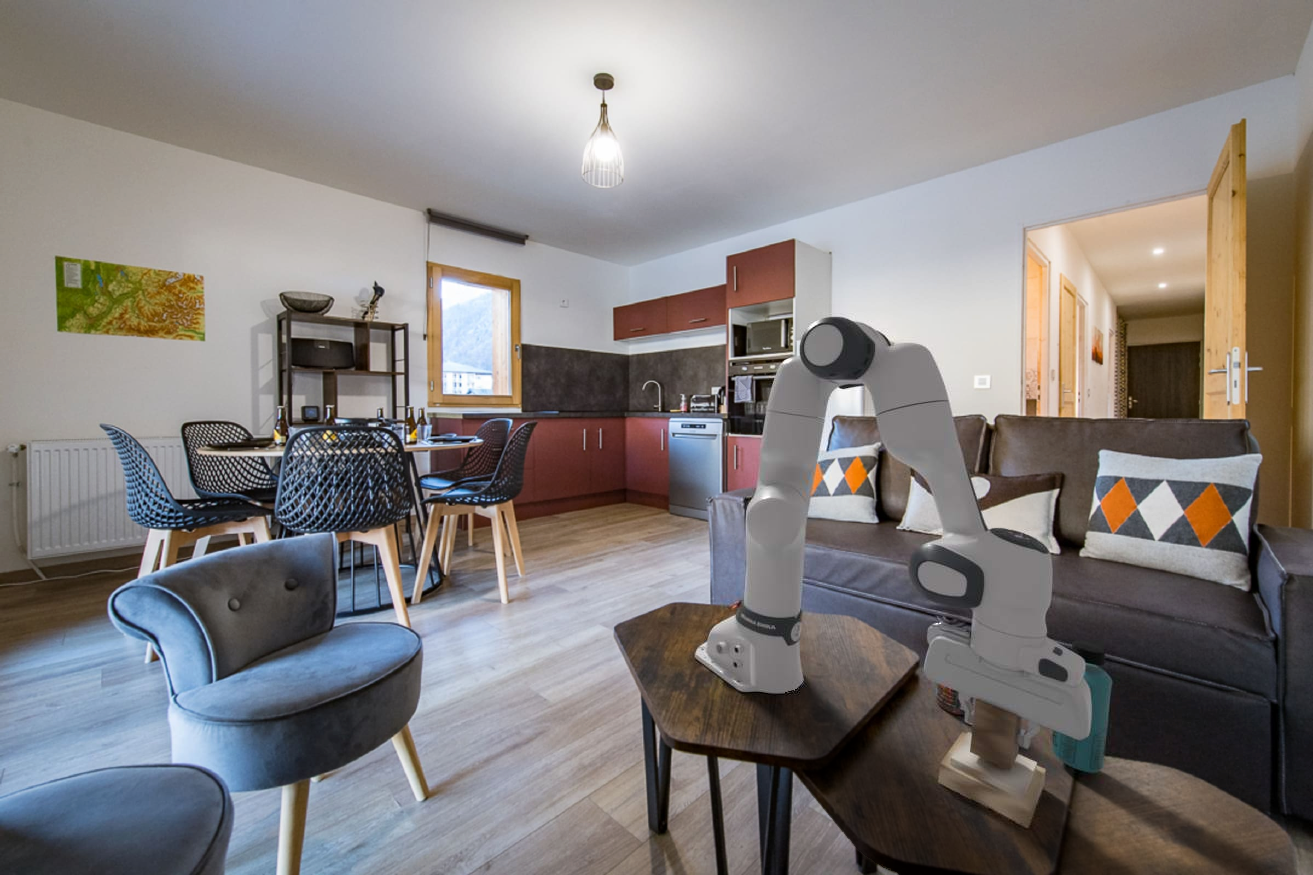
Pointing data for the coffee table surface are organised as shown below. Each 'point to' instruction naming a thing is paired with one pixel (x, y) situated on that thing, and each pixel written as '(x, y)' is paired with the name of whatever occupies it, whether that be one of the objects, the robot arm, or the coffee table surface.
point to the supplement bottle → (949, 699)
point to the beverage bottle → (1091, 748)
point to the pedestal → (993, 780)
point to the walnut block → (995, 734)
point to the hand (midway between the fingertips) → (996, 733)
